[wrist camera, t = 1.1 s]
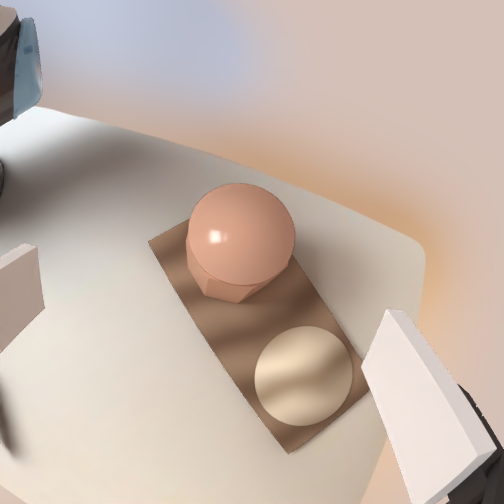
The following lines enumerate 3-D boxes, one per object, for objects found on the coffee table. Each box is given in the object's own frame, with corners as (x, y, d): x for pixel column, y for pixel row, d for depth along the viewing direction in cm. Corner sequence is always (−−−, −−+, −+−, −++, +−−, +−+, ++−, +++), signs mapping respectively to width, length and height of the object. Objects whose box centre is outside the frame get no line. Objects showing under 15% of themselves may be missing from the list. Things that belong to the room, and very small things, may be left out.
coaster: (233, 364, 32) (233, 364, 31) (317, 306, 36) (318, 306, 35) (290, 443, 30) (292, 444, 30) (366, 383, 34) (368, 383, 33)
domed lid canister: (181, 290, 33) (175, 268, 24) (201, 217, 36) (204, 172, 27) (260, 309, 34) (285, 295, 25) (274, 235, 37) (301, 198, 28)
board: (149, 244, 35) (148, 241, 34) (245, 193, 40) (247, 189, 39) (285, 451, 31) (288, 454, 29) (370, 383, 35) (375, 383, 34)
